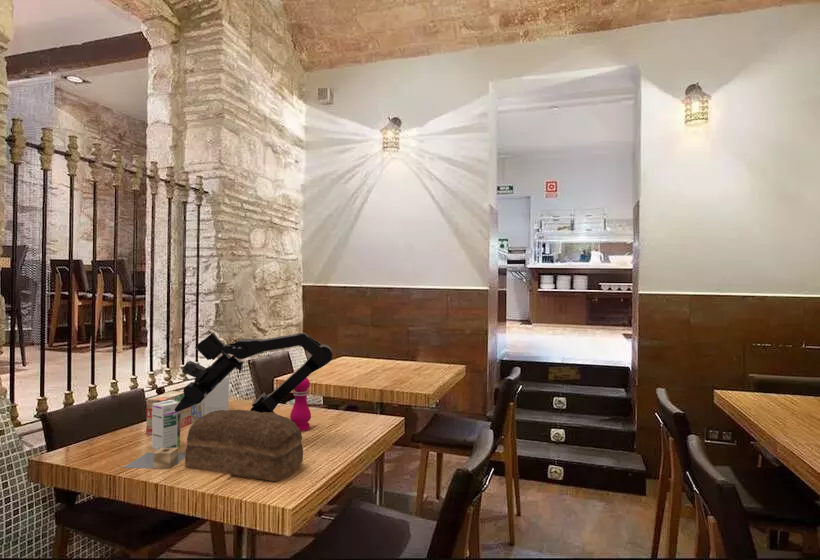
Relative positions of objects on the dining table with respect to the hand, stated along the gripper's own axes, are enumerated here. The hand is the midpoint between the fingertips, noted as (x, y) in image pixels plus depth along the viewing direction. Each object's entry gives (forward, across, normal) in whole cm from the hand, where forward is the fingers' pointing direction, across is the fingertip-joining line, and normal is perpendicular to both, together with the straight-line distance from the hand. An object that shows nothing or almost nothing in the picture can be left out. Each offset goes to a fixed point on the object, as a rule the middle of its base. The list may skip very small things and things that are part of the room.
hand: (180, 407), depth 145 cm
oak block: (+8, +16, +9) cm, 20 cm away
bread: (-6, +18, +25) cm, 31 cm away
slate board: (+11, +12, +7) cm, 17 cm away
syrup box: (+12, 0, +7) cm, 14 cm away
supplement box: (+8, -41, +11) cm, 43 cm away
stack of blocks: (+15, -25, +4) cm, 30 cm away
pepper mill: (-16, -15, +34) cm, 41 cm away
